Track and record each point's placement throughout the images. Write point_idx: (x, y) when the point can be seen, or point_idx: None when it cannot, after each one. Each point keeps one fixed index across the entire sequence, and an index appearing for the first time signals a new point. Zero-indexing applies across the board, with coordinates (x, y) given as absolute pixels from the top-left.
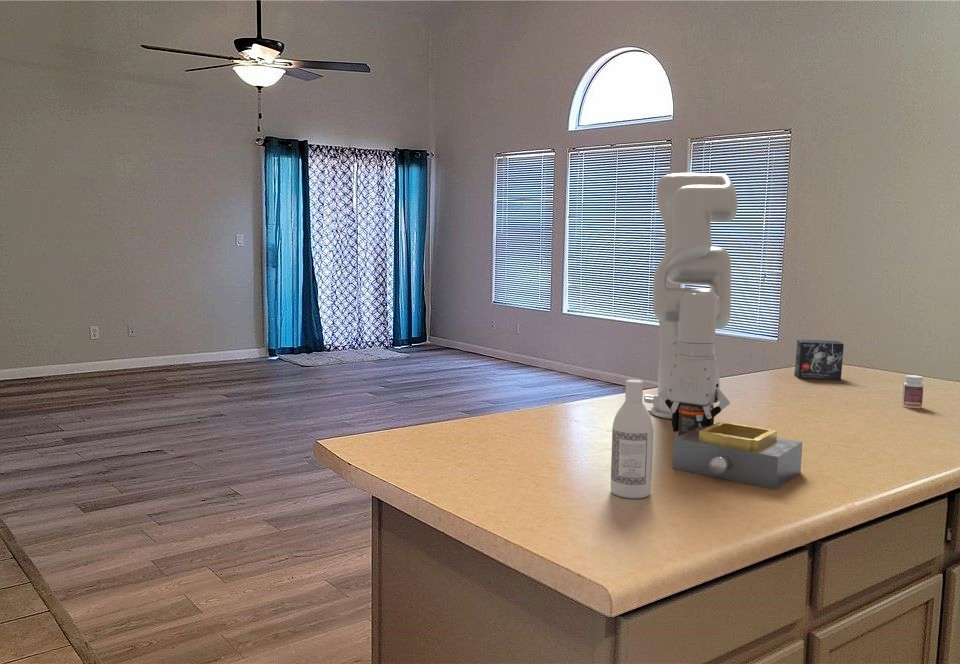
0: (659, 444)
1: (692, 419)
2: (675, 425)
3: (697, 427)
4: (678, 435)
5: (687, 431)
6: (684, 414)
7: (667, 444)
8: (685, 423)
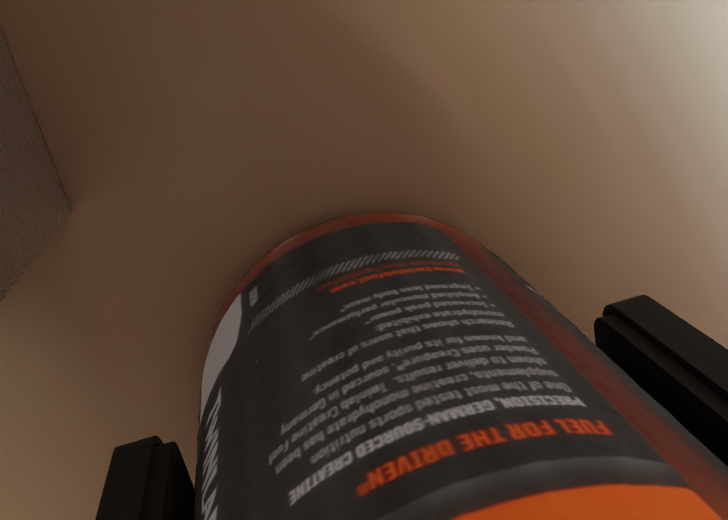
0: (667, 131)
1: (321, 487)
2: (661, 341)
3: (229, 457)
4: (520, 278)
5: (363, 303)
6: (575, 473)
7: (604, 211)
8: (446, 353)
